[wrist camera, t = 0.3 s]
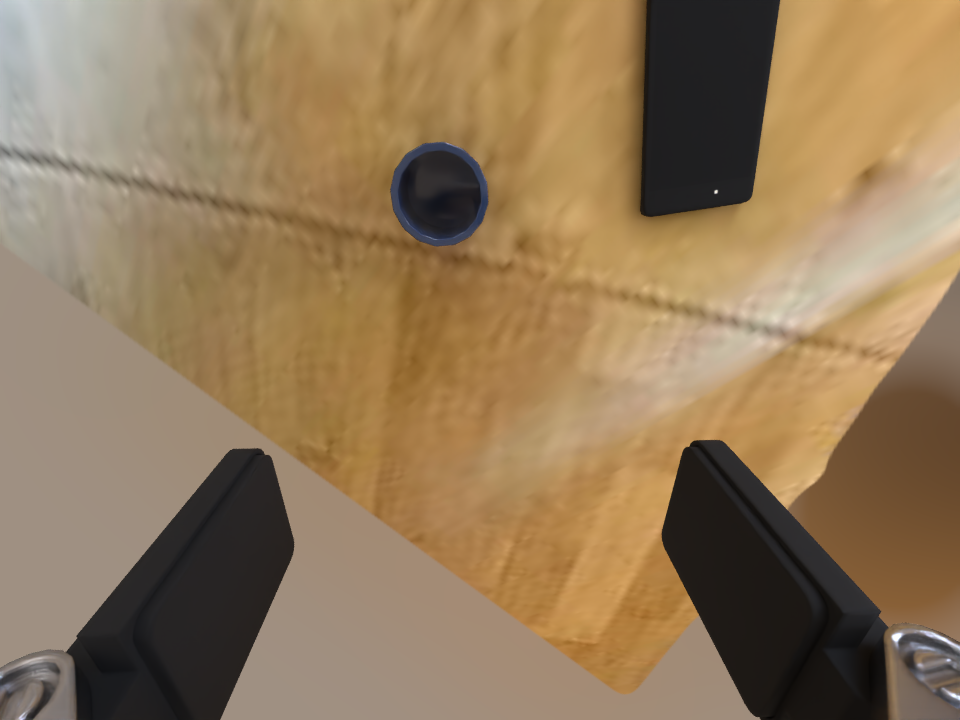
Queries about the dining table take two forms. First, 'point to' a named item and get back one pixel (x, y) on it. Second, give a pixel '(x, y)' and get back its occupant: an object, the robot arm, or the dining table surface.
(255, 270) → the dining table surface
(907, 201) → the dining table surface
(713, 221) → the dining table surface
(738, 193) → the cell phone
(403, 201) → the blue plastic cup
